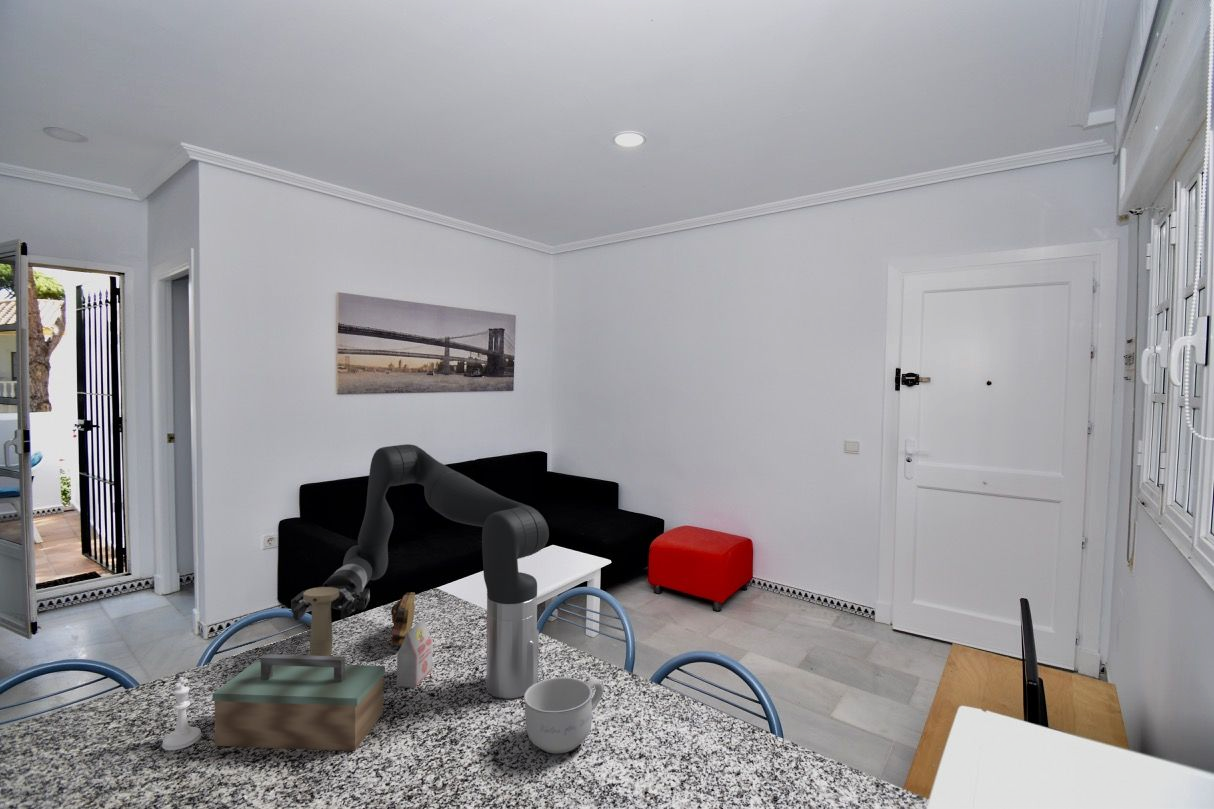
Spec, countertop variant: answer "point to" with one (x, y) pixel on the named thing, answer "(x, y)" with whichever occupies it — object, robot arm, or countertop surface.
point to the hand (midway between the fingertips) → (319, 614)
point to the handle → (321, 619)
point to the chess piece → (181, 722)
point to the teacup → (560, 712)
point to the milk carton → (414, 656)
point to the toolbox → (299, 704)
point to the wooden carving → (402, 618)
